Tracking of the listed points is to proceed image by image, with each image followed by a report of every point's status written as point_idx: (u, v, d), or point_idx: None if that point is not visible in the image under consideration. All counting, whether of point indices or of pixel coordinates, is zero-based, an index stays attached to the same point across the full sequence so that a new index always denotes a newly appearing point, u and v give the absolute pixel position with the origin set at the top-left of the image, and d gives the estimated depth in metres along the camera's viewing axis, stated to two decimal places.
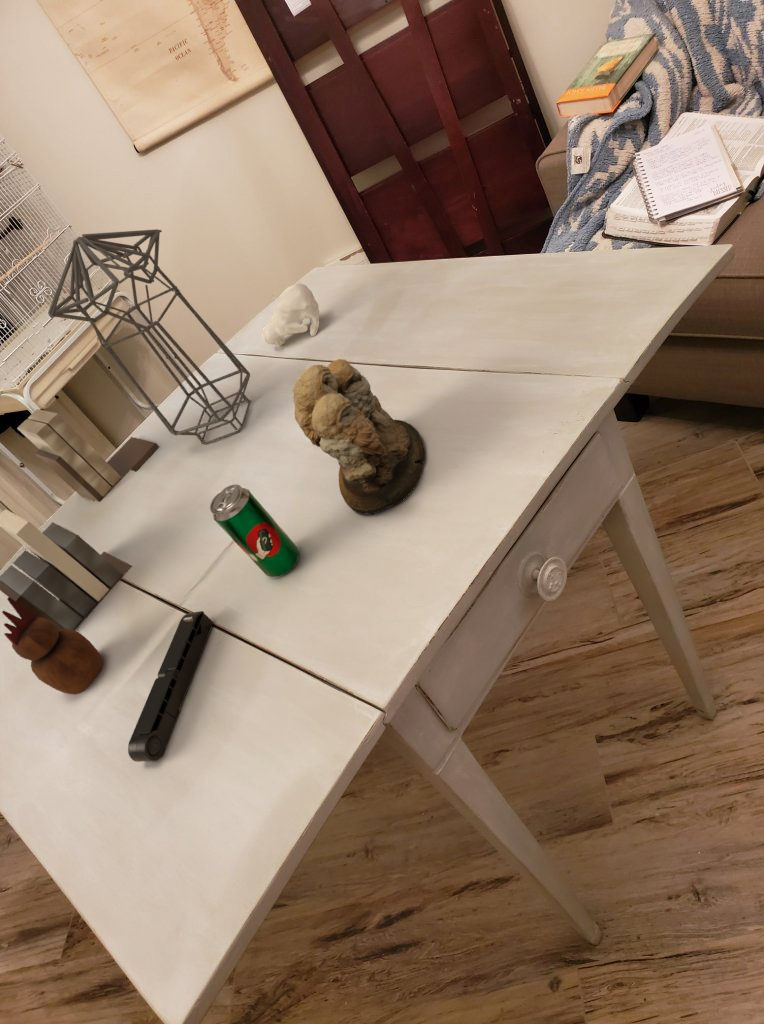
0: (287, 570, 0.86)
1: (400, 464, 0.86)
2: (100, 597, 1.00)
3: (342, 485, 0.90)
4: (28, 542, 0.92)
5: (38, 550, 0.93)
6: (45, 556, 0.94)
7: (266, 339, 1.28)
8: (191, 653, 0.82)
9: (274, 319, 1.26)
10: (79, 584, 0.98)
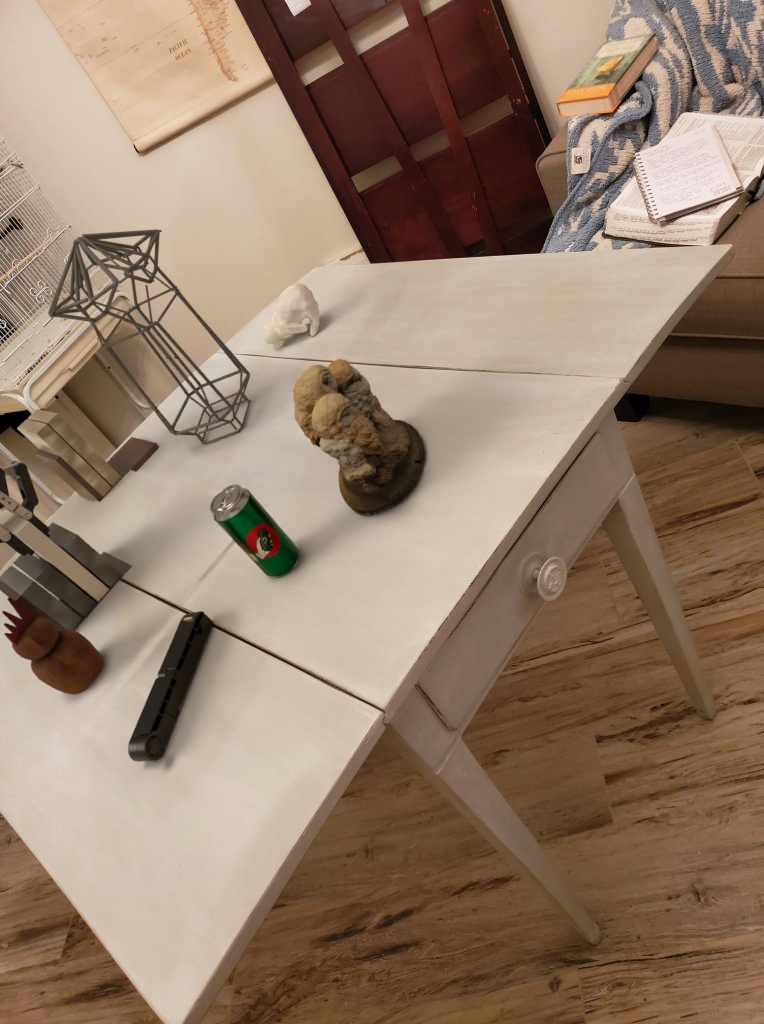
0: (287, 570, 0.86)
1: (399, 464, 0.86)
2: (100, 597, 1.00)
3: (342, 485, 0.90)
4: (28, 542, 0.92)
5: (38, 550, 0.93)
6: (45, 556, 0.94)
7: (266, 339, 1.28)
8: (191, 653, 0.82)
9: (274, 319, 1.26)
10: (79, 584, 0.98)
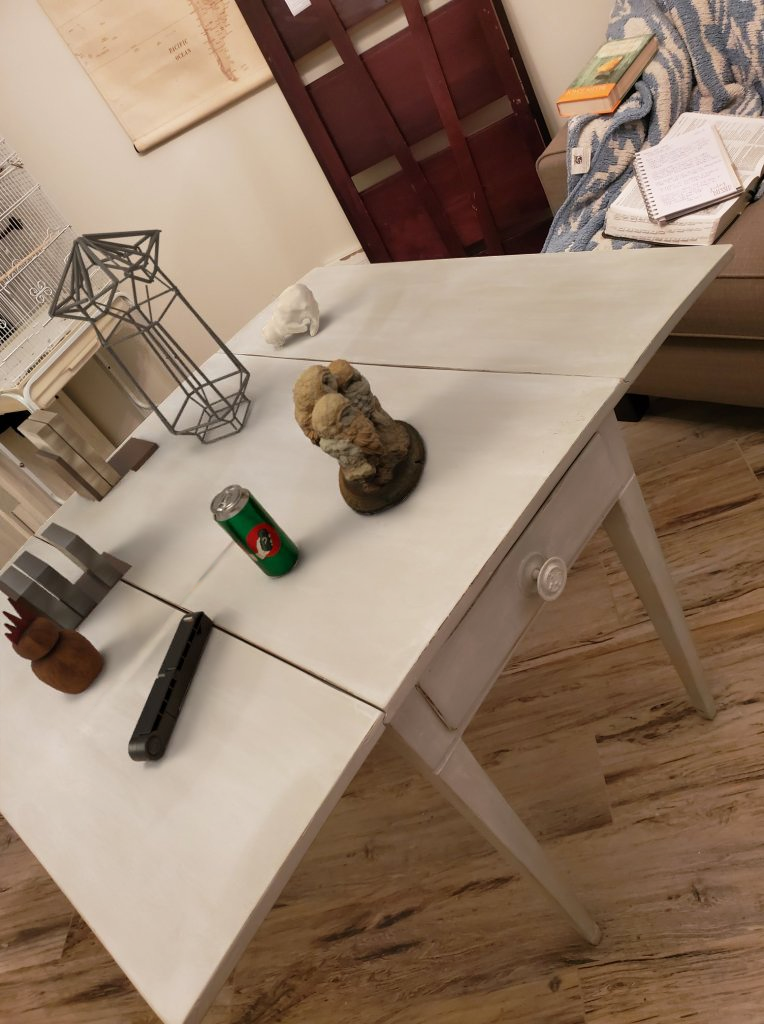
0: (287, 570, 0.86)
1: (399, 464, 0.86)
2: (10, 511, 0.91)
3: (342, 485, 0.90)
4: None
5: None
6: None
7: (266, 339, 1.28)
8: (191, 653, 0.82)
9: (274, 319, 1.26)
10: None
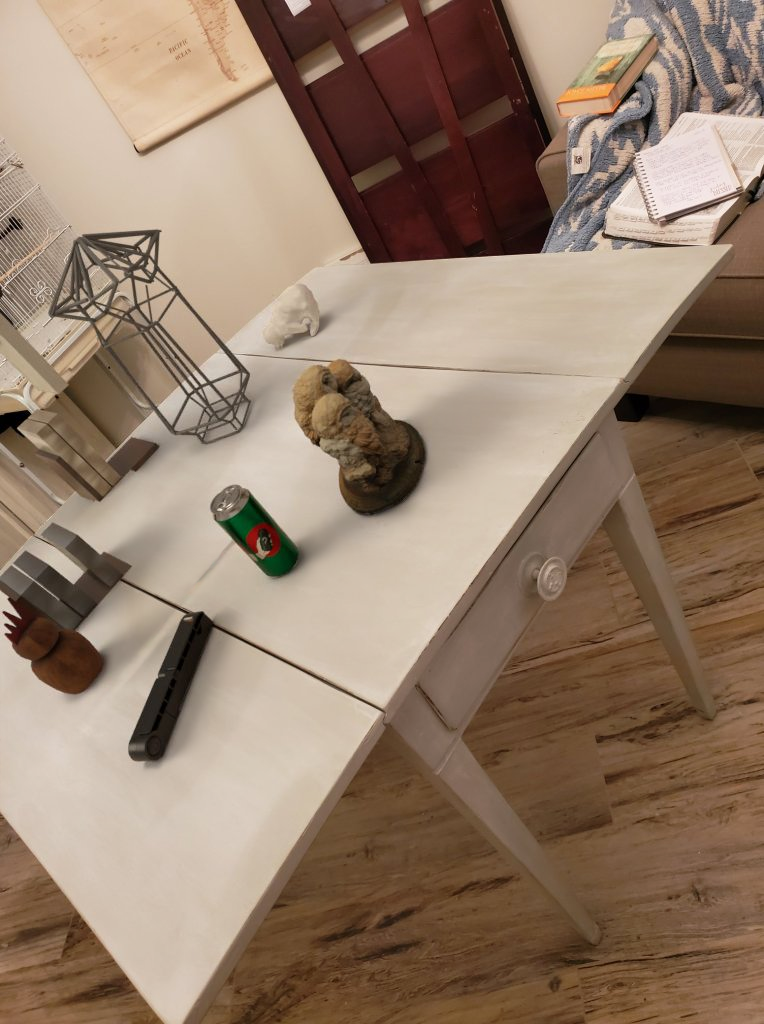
0: (287, 570, 0.86)
1: (399, 464, 0.86)
2: (60, 390, 1.10)
3: (342, 485, 0.90)
4: None
5: (2, 334, 1.03)
6: (8, 341, 1.04)
7: (266, 339, 1.28)
8: (191, 653, 0.82)
9: (274, 319, 1.26)
10: (40, 374, 1.08)
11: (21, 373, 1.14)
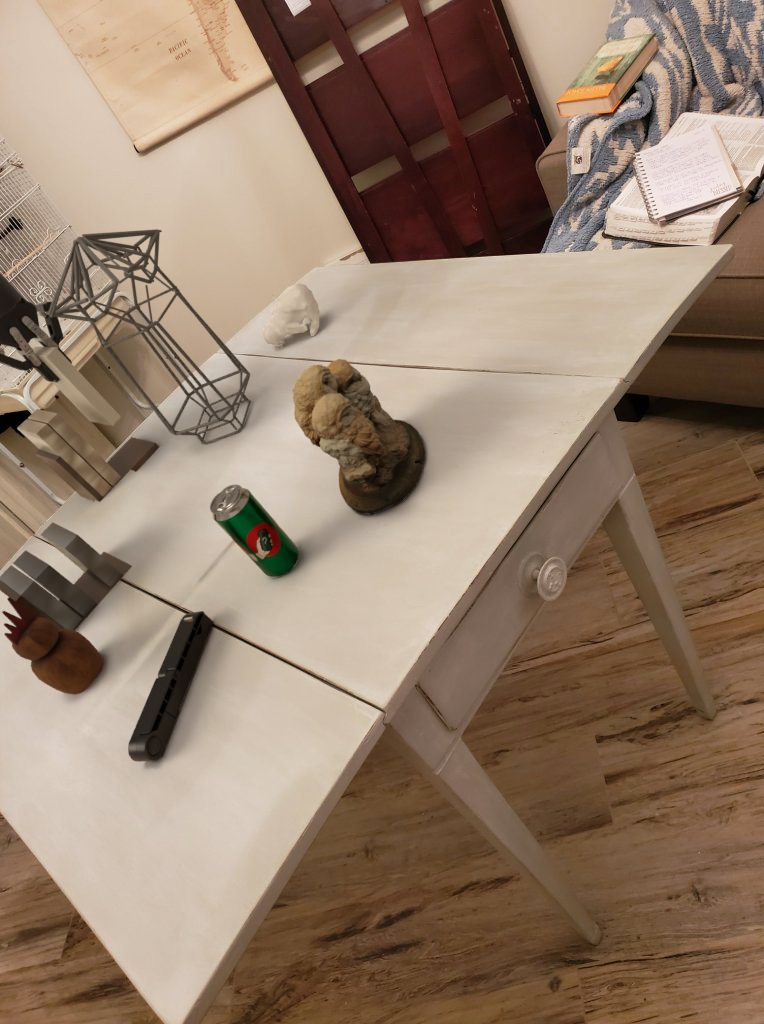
0: (287, 570, 0.86)
1: (399, 464, 0.86)
2: (113, 422, 1.20)
3: (342, 485, 0.90)
4: (55, 365, 1.12)
5: (63, 373, 1.13)
6: (69, 379, 1.14)
7: (266, 339, 1.28)
8: (191, 653, 0.82)
9: (274, 319, 1.26)
10: (96, 408, 1.18)
11: (76, 406, 1.24)
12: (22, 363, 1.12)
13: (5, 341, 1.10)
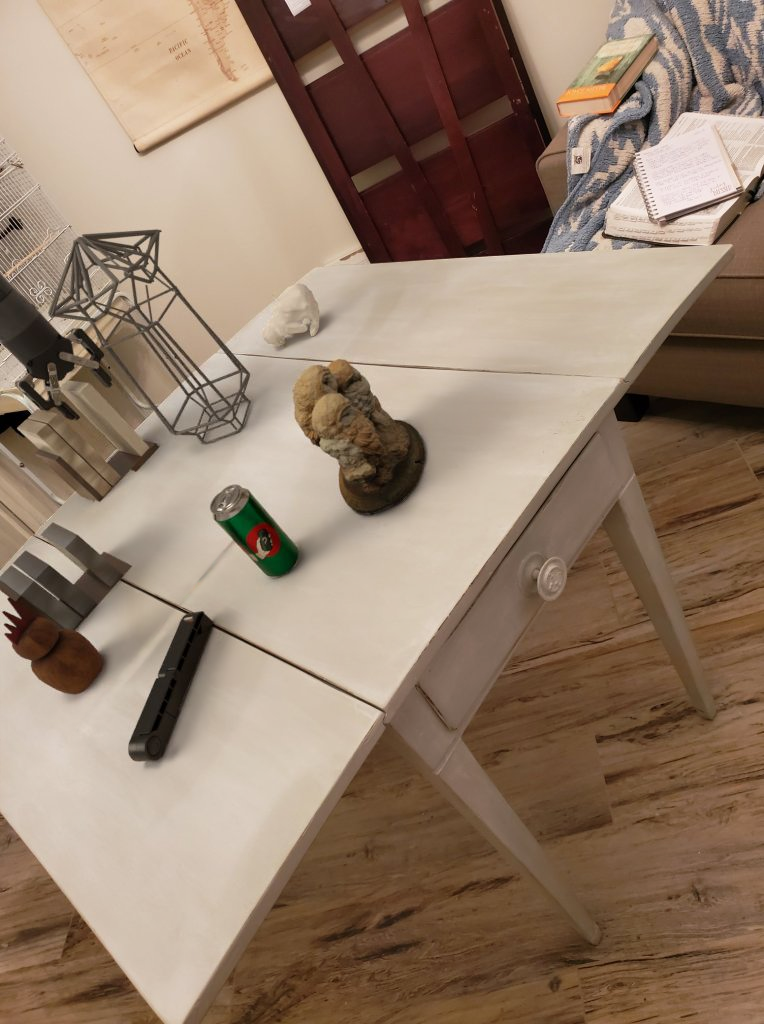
0: (287, 570, 0.86)
1: (399, 464, 0.86)
2: (142, 453, 1.25)
3: (342, 485, 0.90)
4: (89, 400, 1.17)
5: (96, 407, 1.18)
6: (101, 413, 1.19)
7: (266, 339, 1.28)
8: (191, 653, 0.82)
9: (274, 319, 1.26)
10: (127, 440, 1.22)
11: (105, 436, 1.29)
12: (45, 402, 1.15)
13: (43, 376, 1.15)
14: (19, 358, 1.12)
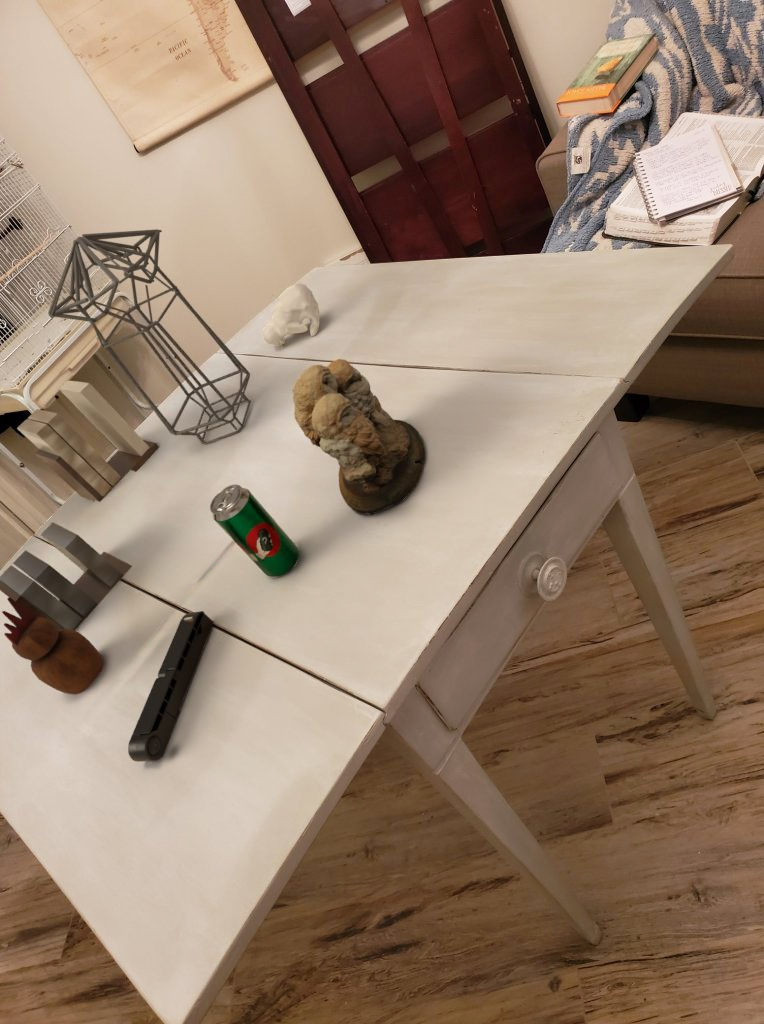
0: (287, 570, 0.86)
1: (399, 464, 0.86)
2: (142, 453, 1.25)
3: (342, 485, 0.90)
4: (89, 400, 1.17)
5: (96, 407, 1.18)
6: (101, 413, 1.19)
7: (266, 339, 1.28)
8: (191, 653, 0.82)
9: (274, 319, 1.26)
10: (127, 440, 1.22)
11: (105, 436, 1.29)
12: None
13: None
14: None
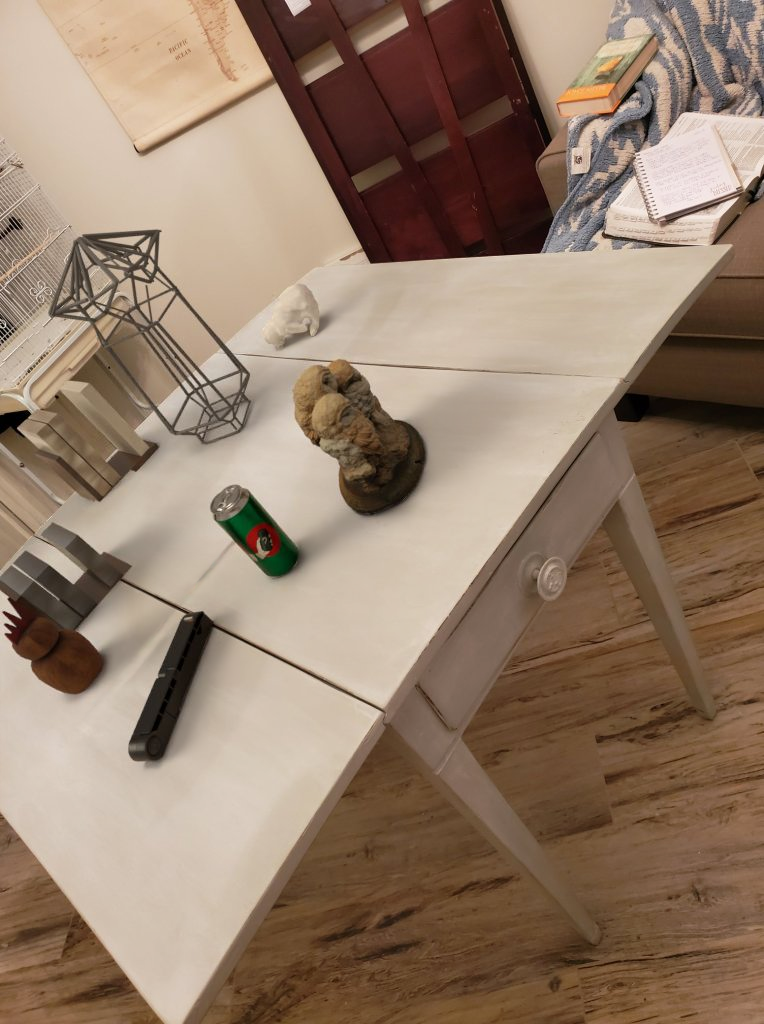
0: (287, 570, 0.86)
1: (399, 464, 0.86)
2: (142, 453, 1.25)
3: (342, 485, 0.90)
4: (89, 400, 1.17)
5: (96, 407, 1.18)
6: (101, 413, 1.19)
7: (266, 339, 1.28)
8: (191, 653, 0.82)
9: (274, 319, 1.26)
10: (127, 440, 1.22)
11: (105, 436, 1.29)
12: None
13: None
14: None
